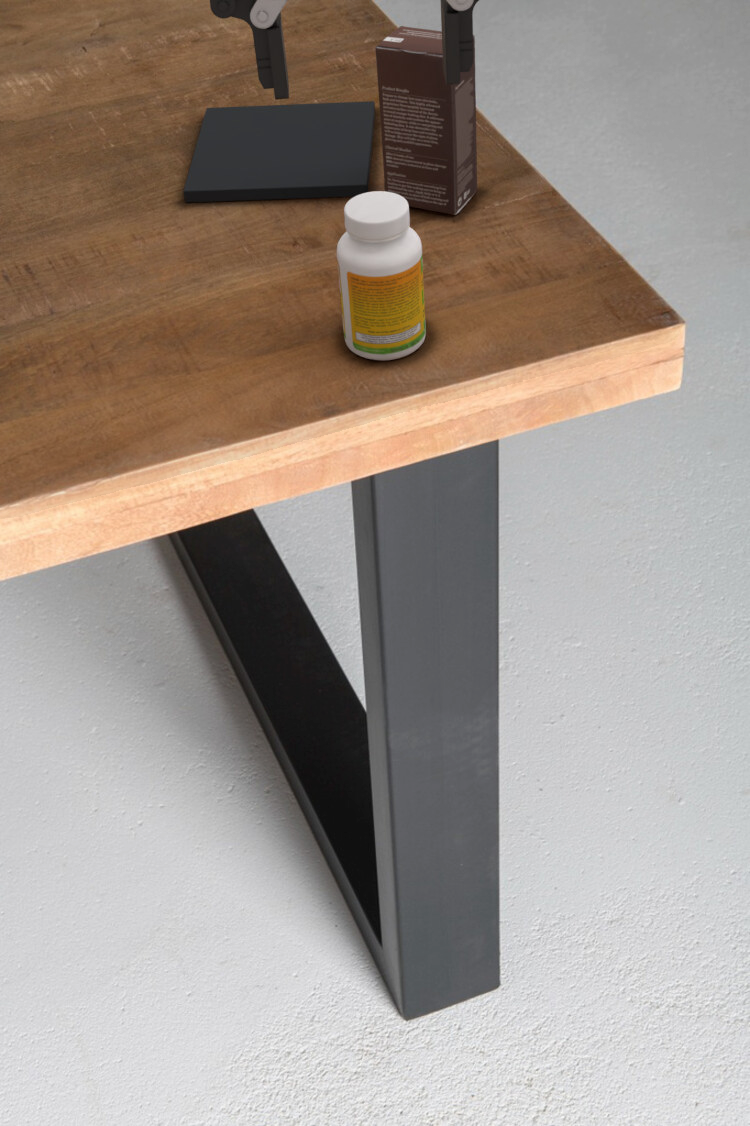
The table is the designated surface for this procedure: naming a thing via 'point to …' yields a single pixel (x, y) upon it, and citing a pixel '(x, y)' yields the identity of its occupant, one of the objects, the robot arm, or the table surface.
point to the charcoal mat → (282, 152)
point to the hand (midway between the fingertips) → (367, 85)
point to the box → (426, 122)
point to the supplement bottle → (381, 278)
